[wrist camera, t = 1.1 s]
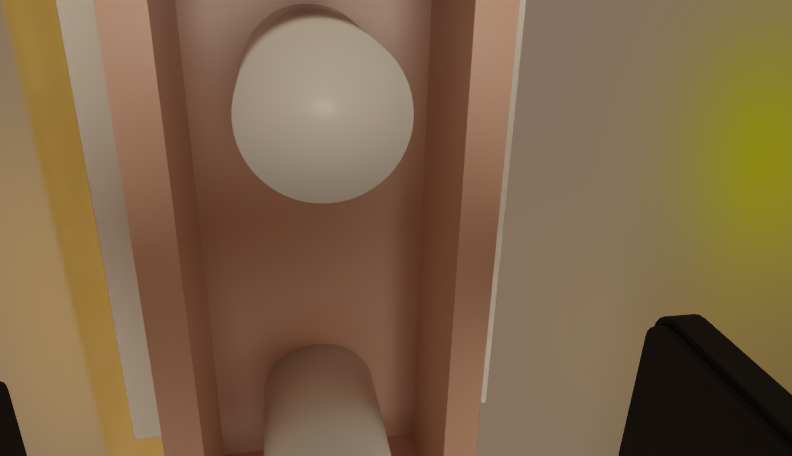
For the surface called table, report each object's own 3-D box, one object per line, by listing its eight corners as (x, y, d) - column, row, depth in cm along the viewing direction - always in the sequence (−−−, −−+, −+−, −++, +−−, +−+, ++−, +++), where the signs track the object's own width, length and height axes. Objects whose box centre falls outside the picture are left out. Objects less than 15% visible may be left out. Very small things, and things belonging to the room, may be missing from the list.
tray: (431, 432, 20) (476, 567, 16) (200, 458, 19) (180, 612, 14) (460, -54, 14) (543, -55, 10) (132, -64, 13) (66, -69, 9)
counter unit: (395, 197, 36) (500, 400, 20) (187, 206, 34) (115, 441, 18) (401, -30, 31) (546, -6, 15) (159, -35, 29) (27, -14, 13)
